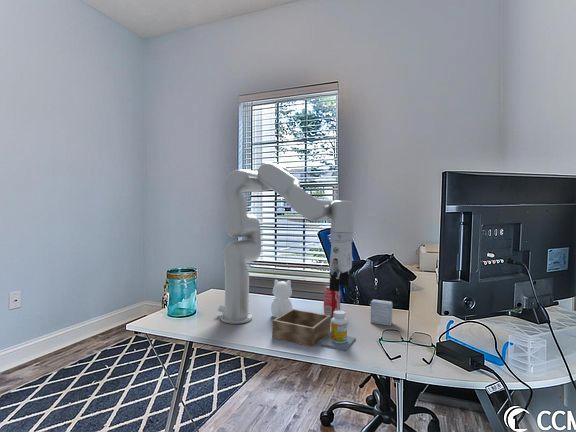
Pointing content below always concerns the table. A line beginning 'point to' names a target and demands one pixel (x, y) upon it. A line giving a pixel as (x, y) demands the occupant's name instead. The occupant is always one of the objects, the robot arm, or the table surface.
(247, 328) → the table surface
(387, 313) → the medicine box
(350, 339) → the mat
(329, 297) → the soda can
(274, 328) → the crate
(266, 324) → the table surface
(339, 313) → the supplement bottle
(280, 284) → the cat figurine
